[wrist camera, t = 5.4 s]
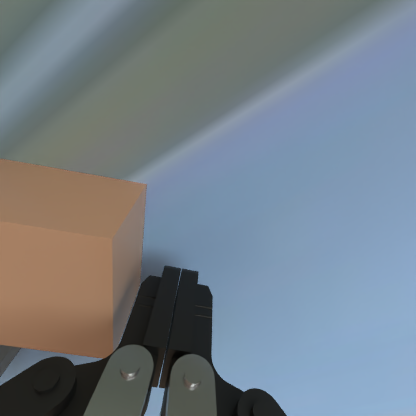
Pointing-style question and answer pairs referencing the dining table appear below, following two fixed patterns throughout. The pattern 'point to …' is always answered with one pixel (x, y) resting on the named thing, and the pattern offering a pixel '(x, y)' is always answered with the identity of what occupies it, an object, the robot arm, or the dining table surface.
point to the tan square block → (68, 258)
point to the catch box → (7, 356)
